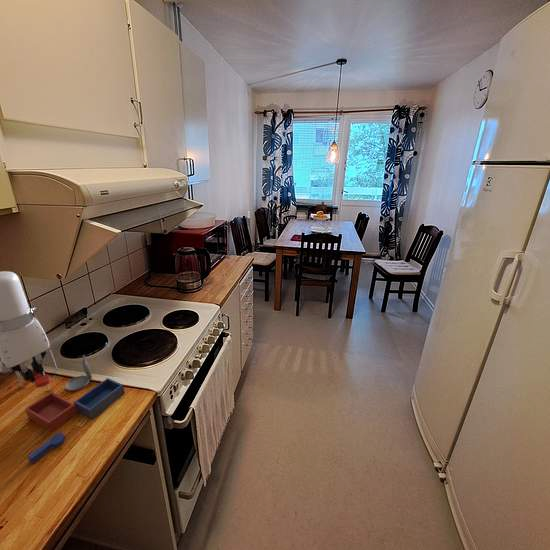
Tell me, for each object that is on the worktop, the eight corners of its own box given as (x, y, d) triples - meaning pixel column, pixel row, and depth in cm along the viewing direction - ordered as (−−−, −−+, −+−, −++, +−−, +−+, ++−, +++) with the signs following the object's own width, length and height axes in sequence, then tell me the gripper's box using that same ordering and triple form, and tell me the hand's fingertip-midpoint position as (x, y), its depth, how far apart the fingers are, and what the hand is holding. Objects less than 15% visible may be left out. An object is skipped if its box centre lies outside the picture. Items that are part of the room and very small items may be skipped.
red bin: (28, 417, 83) (24, 409, 82) (54, 400, 89) (51, 391, 88) (52, 432, 79) (48, 423, 78) (77, 412, 85) (74, 404, 84)
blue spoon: (35, 465, 71) (33, 460, 70) (27, 459, 72) (25, 455, 71) (68, 439, 77) (66, 434, 77) (60, 434, 79) (58, 429, 78)
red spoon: (22, 379, 78) (20, 374, 77) (36, 371, 81) (35, 366, 80) (40, 389, 75) (38, 383, 74) (54, 380, 78) (52, 375, 77)
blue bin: (92, 419, 83) (89, 410, 82) (76, 410, 86) (73, 402, 85) (125, 393, 93) (123, 384, 91) (109, 386, 95) (107, 377, 94)
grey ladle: (61, 390, 93) (52, 365, 90) (82, 372, 101) (75, 349, 97) (81, 394, 92) (73, 370, 88) (102, 377, 99) (95, 353, 95)
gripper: (38, 303, 79) (57, 357, 86) (-37, 332, 66) (-8, 392, 73) (55, 309, 77) (72, 364, 84) (-20, 340, 63) (8, 403, 70)
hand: (35, 377), depth 78 cm, fingers closed on red spoon, 1 cm apart
